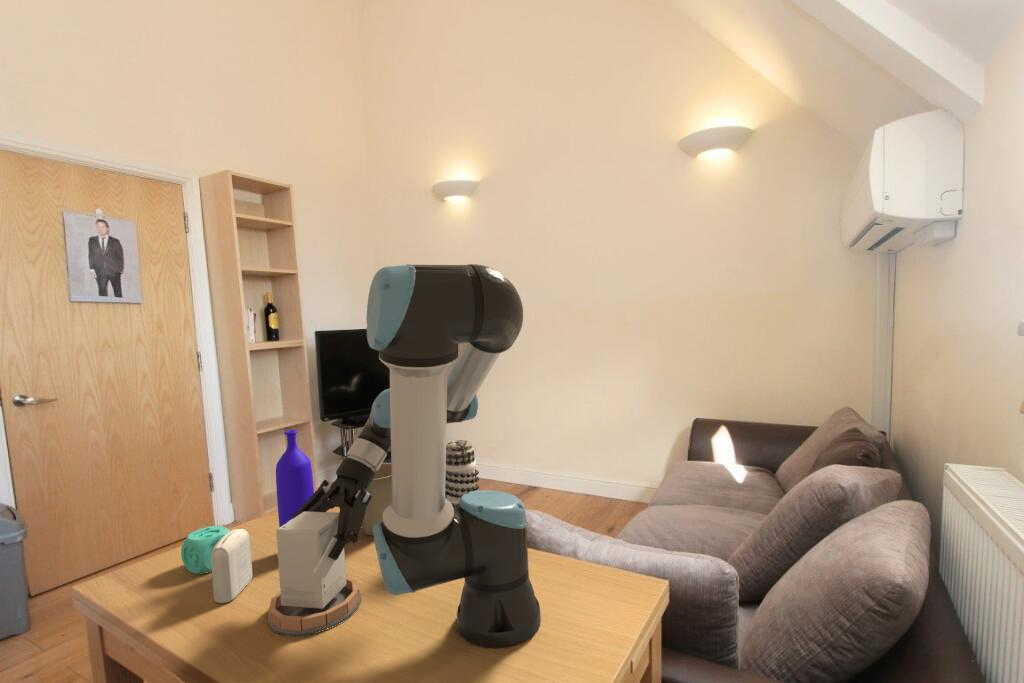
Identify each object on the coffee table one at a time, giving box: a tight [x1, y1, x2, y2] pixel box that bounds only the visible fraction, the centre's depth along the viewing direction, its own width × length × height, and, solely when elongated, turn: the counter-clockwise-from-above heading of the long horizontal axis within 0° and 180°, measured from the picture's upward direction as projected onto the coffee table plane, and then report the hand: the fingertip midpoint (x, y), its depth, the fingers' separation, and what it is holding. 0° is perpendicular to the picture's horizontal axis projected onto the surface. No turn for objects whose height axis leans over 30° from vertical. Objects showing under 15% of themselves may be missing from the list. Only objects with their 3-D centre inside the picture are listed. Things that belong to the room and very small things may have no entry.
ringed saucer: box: [267, 573, 362, 637], centre depth 99 cm, size 17×17×3 cm
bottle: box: [275, 429, 315, 528], centre depth 123 cm, size 8×8×30 cm
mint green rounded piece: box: [180, 525, 231, 575], centre depth 119 cm, size 8×8×8 cm
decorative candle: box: [445, 440, 480, 508], centre depth 124 cm, size 9×9×25 cm
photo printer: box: [211, 528, 254, 604], centre depth 107 cm, size 10×4×12 cm, turn 3°
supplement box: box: [276, 511, 347, 609], centre depth 99 cm, size 9×9×15 cm
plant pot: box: [361, 462, 392, 536], centre depth 135 cm, size 15×15×16 cm
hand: (299, 567), depth 97 cm, fingers closed on supplement box, 11 cm apart
